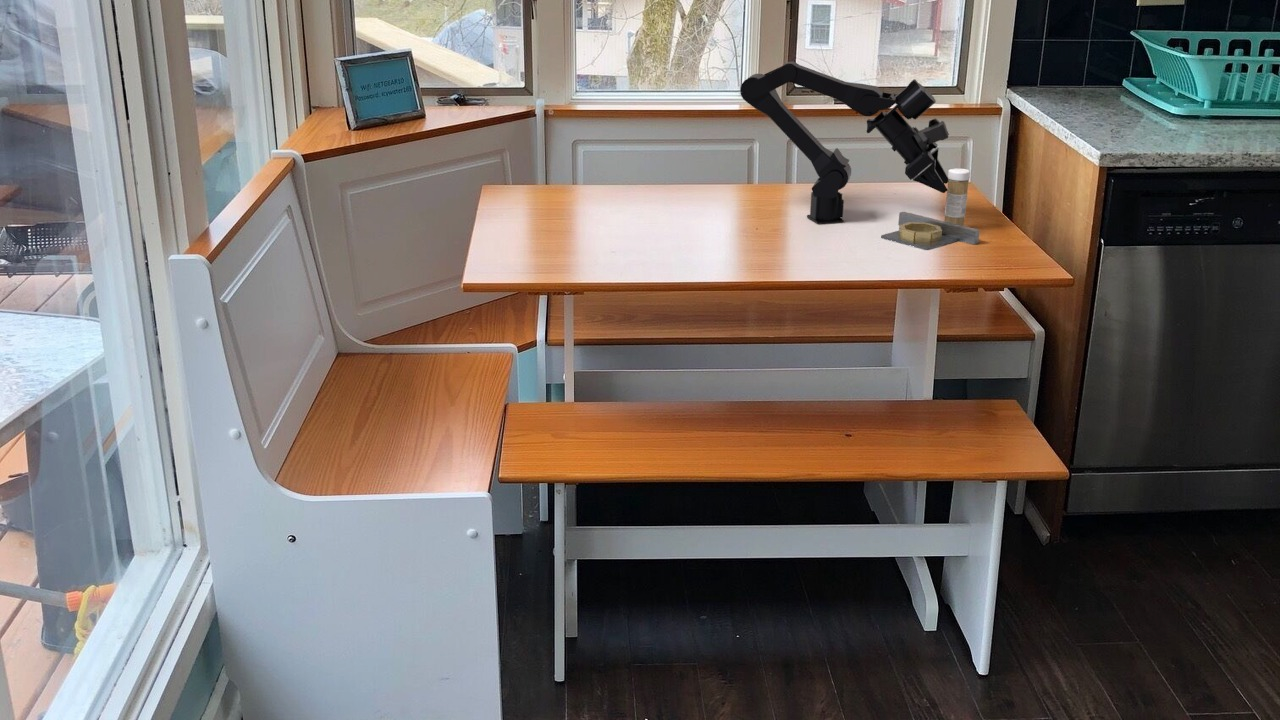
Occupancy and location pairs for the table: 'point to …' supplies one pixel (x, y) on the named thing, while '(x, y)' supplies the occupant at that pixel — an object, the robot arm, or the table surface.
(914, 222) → the plate
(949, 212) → the sprinkles bottle
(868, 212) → the table surface
